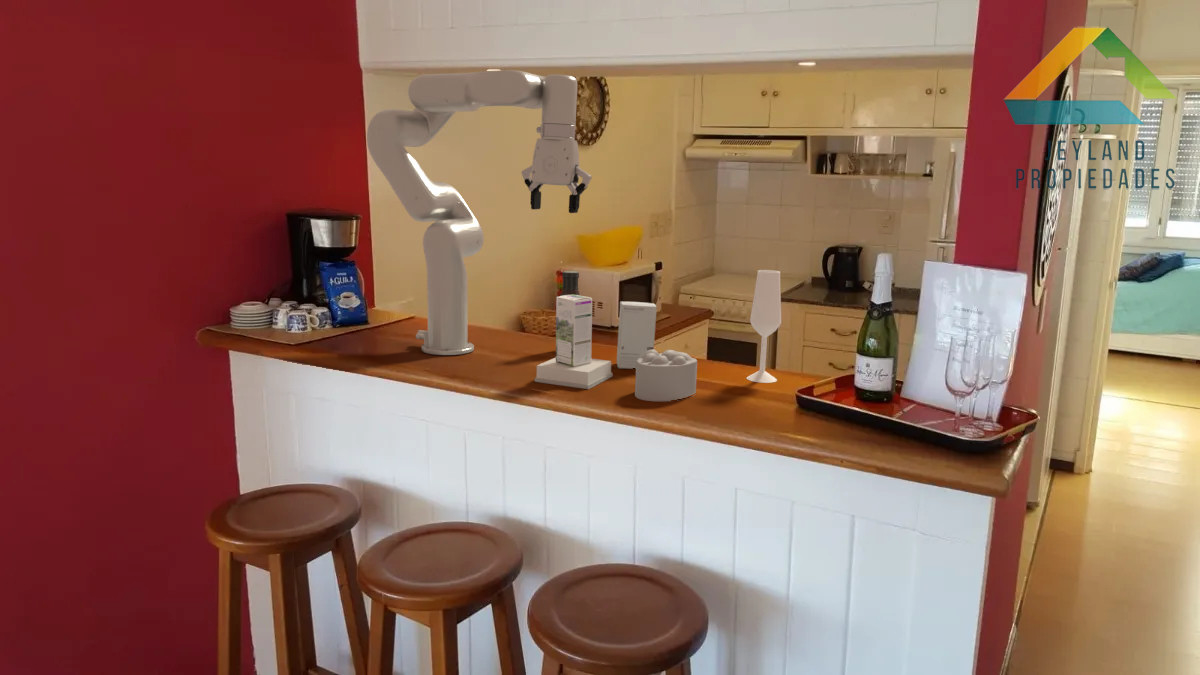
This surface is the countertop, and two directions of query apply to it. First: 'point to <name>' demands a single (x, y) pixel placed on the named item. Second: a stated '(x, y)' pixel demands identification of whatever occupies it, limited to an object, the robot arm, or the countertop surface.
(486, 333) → the countertop surface
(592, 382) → the cream square tile
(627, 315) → the skincare box
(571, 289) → the sauce bottle
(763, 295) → the champagne flute
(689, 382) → the lumpy-topped squat cylinder
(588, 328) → the syrup box
